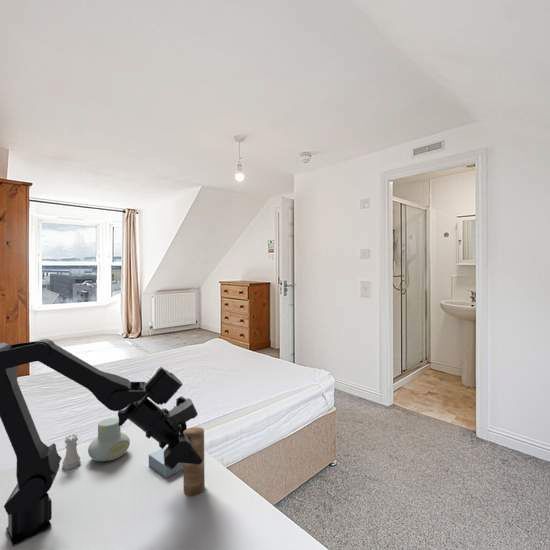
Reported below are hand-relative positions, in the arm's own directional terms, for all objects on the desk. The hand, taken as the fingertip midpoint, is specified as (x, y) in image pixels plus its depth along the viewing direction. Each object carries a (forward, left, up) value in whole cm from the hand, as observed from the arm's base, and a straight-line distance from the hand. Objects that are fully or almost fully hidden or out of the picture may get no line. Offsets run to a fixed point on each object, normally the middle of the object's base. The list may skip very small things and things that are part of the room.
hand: (199, 456), depth 82 cm
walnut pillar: (-1, +1, -8) cm, 8 cm away
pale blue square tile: (+1, +15, -8) cm, 17 cm away
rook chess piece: (-17, +36, -8) cm, 40 cm away
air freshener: (-8, +33, -8) cm, 35 cm away
